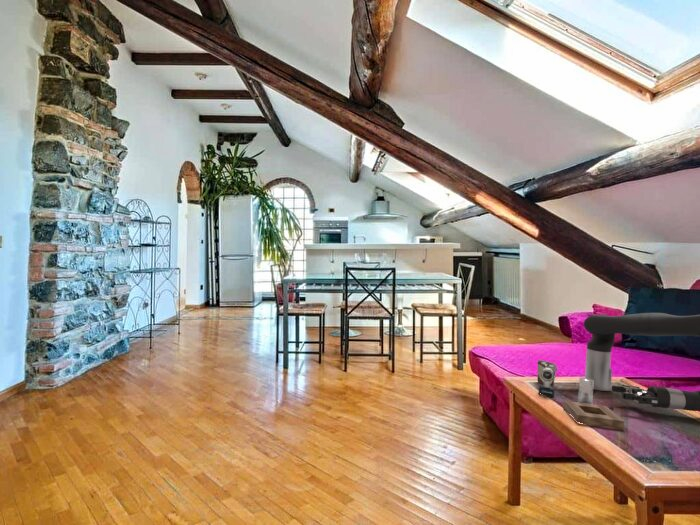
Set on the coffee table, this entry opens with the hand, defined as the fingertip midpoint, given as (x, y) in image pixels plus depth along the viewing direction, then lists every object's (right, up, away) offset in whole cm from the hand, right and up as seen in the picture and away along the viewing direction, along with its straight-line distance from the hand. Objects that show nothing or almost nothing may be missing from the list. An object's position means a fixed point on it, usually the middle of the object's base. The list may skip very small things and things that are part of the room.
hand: (617, 391), depth 145 cm
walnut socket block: (-17, -6, -11) cm, 22 cm away
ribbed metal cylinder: (-11, -6, +2) cm, 13 cm away
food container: (-14, -6, +24) cm, 28 cm away
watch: (-21, -5, +12) cm, 25 cm away
